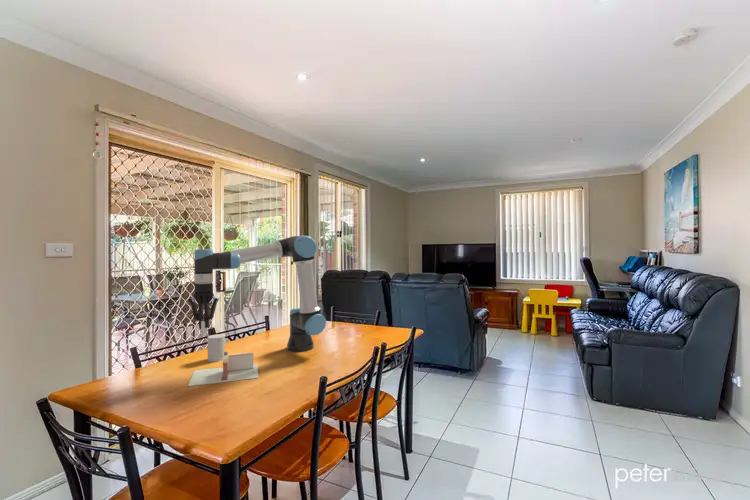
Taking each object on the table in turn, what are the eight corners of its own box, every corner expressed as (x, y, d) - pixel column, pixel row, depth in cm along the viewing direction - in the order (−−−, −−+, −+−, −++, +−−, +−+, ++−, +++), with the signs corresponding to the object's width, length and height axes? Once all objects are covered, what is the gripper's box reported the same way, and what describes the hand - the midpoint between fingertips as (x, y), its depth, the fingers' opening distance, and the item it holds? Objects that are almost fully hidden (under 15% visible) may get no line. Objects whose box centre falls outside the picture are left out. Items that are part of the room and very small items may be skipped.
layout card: (257, 364, 174) (257, 363, 174) (258, 378, 155) (258, 377, 155) (194, 371, 165) (194, 370, 165) (187, 386, 146) (187, 385, 146)
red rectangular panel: (223, 371, 162) (223, 355, 162) (228, 370, 163) (228, 355, 163) (222, 379, 152) (222, 362, 152) (227, 378, 153) (227, 362, 153)
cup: (220, 361, 178) (220, 338, 178) (204, 361, 179) (204, 338, 179) (227, 356, 187) (227, 334, 186) (212, 356, 187) (212, 334, 187)
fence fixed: (253, 367, 169) (253, 349, 169) (253, 369, 167) (253, 350, 167) (224, 371, 164) (224, 352, 164) (224, 372, 163) (224, 353, 163)
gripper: (185, 284, 154) (185, 337, 155) (215, 283, 156) (216, 336, 156) (192, 282, 162) (192, 333, 162) (221, 282, 163) (221, 332, 163)
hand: (204, 334), depth 159 cm, fingers closed
